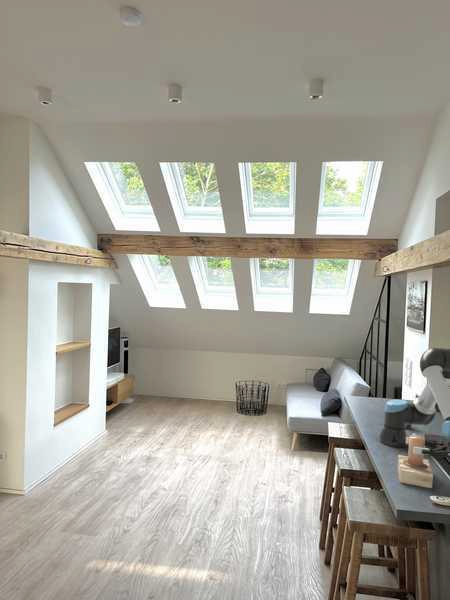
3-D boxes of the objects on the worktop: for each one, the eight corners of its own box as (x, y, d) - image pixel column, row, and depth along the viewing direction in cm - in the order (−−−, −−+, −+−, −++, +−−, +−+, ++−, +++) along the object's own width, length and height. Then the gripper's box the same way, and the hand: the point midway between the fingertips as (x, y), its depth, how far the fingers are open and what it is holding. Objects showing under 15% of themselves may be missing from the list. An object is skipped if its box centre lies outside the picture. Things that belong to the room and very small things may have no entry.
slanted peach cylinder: (413, 460, 214) (415, 434, 214) (425, 465, 209) (428, 438, 208) (404, 462, 211) (406, 436, 210) (416, 467, 205) (419, 440, 205)
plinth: (397, 466, 221) (398, 454, 221) (427, 471, 217) (428, 458, 217) (399, 482, 202) (400, 468, 202) (431, 488, 198) (433, 474, 198)
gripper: (469, 469, 195) (416, 463, 198) (449, 449, 219) (402, 444, 222) (470, 451, 194) (417, 445, 197) (450, 433, 219) (403, 428, 222)
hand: (409, 445), depth 210 cm, fingers open, 13 cm apart
